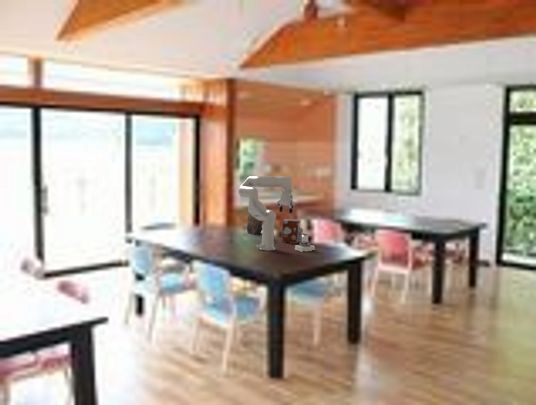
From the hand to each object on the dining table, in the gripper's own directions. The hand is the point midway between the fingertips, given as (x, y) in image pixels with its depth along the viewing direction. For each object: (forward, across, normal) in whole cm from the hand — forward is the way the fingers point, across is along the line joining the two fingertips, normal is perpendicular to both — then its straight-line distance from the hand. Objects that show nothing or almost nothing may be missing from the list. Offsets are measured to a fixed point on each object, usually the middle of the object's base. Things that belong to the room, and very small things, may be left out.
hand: (285, 212), depth 462 cm
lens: (+25, -21, +2) cm, 32 cm away
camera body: (+28, -21, +2) cm, 35 cm away
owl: (+28, +58, -34) cm, 73 cm away
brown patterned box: (+28, +6, -22) cm, 36 cm away
